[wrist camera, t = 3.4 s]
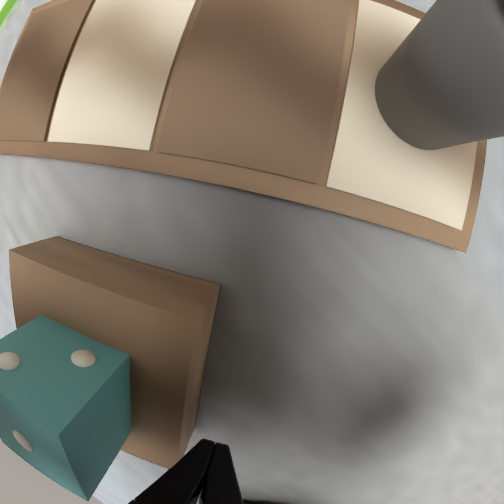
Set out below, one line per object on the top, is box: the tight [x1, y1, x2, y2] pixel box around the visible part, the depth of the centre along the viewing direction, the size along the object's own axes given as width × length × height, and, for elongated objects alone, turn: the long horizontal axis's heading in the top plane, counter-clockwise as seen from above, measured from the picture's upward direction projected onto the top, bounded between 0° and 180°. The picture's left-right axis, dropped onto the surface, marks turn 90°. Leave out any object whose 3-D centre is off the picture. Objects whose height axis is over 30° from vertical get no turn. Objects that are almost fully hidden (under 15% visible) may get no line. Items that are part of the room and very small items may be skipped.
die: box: [0, 314, 132, 501], centre depth 7 cm, size 4×4×4 cm
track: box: [0, 0, 487, 253], centre depth 8 cm, size 9×23×1 cm, turn 77°
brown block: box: [9, 237, 220, 469], centre depth 10 cm, size 8×8×3 cm
